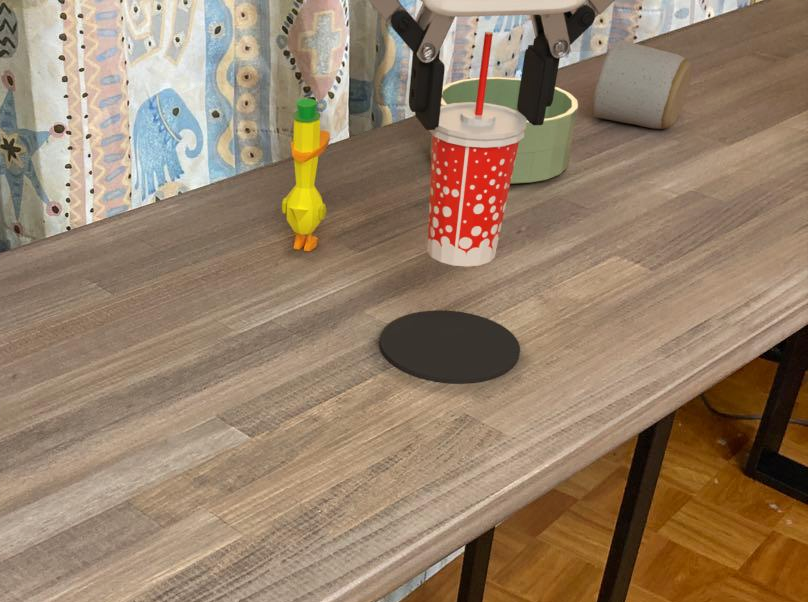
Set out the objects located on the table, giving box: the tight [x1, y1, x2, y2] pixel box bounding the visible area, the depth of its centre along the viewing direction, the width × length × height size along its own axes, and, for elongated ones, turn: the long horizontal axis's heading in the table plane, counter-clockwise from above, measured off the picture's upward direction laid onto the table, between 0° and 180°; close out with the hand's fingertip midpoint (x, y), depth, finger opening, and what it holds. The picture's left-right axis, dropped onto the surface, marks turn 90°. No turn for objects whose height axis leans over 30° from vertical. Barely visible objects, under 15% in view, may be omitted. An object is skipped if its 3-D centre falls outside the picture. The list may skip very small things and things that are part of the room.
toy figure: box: [281, 98, 331, 252], centre depth 91 cm, size 7×4×12 cm, turn 159°
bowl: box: [429, 76, 579, 185], centre depth 108 cm, size 13×13×6 cm
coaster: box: [379, 309, 521, 384], centre depth 81 cm, size 10×10×1 cm
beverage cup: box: [427, 31, 526, 267], centre depth 72 cm, size 6×6×14 cm
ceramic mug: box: [592, 39, 693, 130], centre depth 118 cm, size 11×8×8 cm
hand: (478, 117), depth 71 cm, fingers closed on beverage cup, 6 cm apart
